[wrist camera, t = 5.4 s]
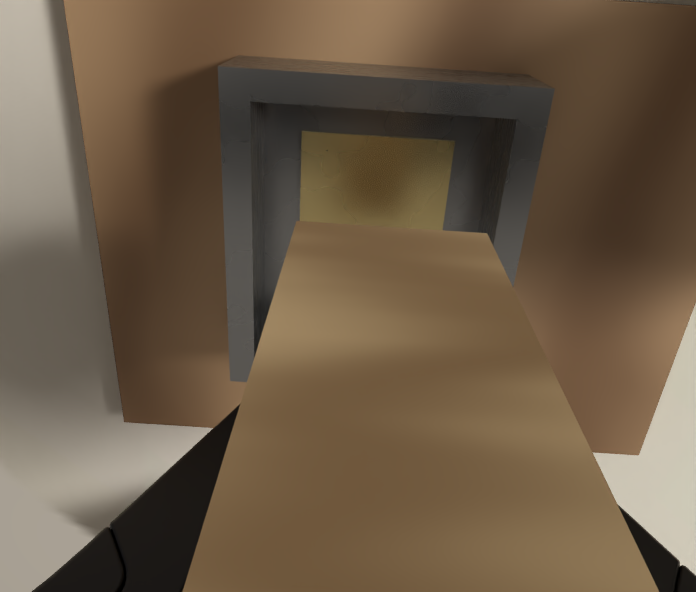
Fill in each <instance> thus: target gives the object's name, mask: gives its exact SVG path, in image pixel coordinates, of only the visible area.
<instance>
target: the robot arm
mask: <svg viewBox="0 0 696 592" xmlns="http://www.w3.org/2000/svg"><path fill="white" fill-rule="evenodd" d="M239 406H240V404H239V405H238V406H237V407H236V408H235V409H234V410H233V411H232V412H231V413H230V414H228V415H227V416H226V417H225V418H224V419H223V420H222V421H221V422H220V423H219V424H218V425H217V426H215V427H214V428H213V429H212V430H211V431H210V432H209V433H208V434H207V435H206V436H205V437H203V438H202V439H201V440H200V441H199V442H198V443H197V444H196V445H195V446H194V447H193V448H192V449H190V450H189V451H188V452H187V453H186V454H185V455H184V456H183V457H182V458H181V459H180V460H179V461H177V462H176V463H175V464H174V465H173V466H172V467H171V468H170V469H169V470H168V471H167V472H166V473H164V474H163V475H162V476H161V477H160V478H159V479H158V480H157V481H156V482H155V483H154V484H153V485H151V486H150V487H149V488H148V489H147V490H146V491H145V492H144V493H143V494H142V495H141V496H140V497H138V498H137V499H136V500H135V501H134V502H133V503H132V504H131V505H130V506H129V507H128V508H127V509H125V510H124V511H123V512H122V513H121V514H120V515H119V516H118V517H117V518H116V519H115V520H113V521H112V522H111V524H110V528H109V527H106V528H104V529H103V530H102V531H101V532H100V533H99V534H98V535H97V536H96V537H95V538H94V539H93V540H92V541H91V542H89V543H88V544H87V545H86V546H85V547H84V548H83V549H82V550H81V551H79V552H78V553H77V554H76V555H75V556H74V557H72V558H71V559H70V560H69V561H68V562H67V563H66V564H64V565H63V566H62V567H61V568H60V569H59V570H58V571H57V572H55V573H54V574H53V575H52V576H51V577H49V578H48V579H47V580H46V581H45V582H43V583H42V584H41V585H39V586H38V587H37V588H36V589H35V590H33V591H32V592H183V589H184V585H185V582H186V579H187V576H188V572H189V569H190V566H191V563H192V559H193V556H194V553H195V550H196V546H197V543H198V540H199V537H200V533H201V530H202V527H203V524H204V520H205V517H206V514H207V511H208V507H209V504H210V501H211V498H212V494H213V491H214V488H215V485H216V481H217V478H218V475H219V471H220V468H221V465H222V462H223V458H224V455H225V452H226V449H227V445H228V442H229V439H230V436H231V432H232V429H233V426H234V423H235V419H236V416H237V413H238V410H239ZM617 505H618V504H617ZM618 507H619V509H620V511H621V513H622V515H623V517H624V519H625V522H626V524H627V526H628V528H629V530H630V532H631V534H632V536H633V538H634V540H635V542H636V544H637V547H638V549H639V551H640V553H641V555H642V557H643V559H644V561H645V563H646V565H647V567H648V569H649V571H650V574H651V576H652V578H653V580H654V582H655V584H656V586H657V588H658V590H659V592H696V575H695V574H693V573H692V572H691V571H690V570H689V569H688V568H687V567H686V566H683V565H682V566H680V562H679V560H678V559H677V558H676V557H675V556H673V555H672V554H671V553H670V552H669V551H668V550H667V549H666V548H665V547H664V546H663V545H661V544H660V543H659V542H658V541H657V540H656V539H655V538H654V537H653V536H652V535H651V534H649V533H648V532H647V531H646V530H645V529H644V528H643V527H642V526H641V525H640V524H639V523H637V522H636V521H635V520H634V519H633V518H632V517H631V516H630V515H629V514H628V513H627V512H625V511H624V510H623V509H622V508H621V507H620V506H619V505H618Z"/></svg>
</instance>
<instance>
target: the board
mask: <svg viewBox="0 0 696 592" xmlns="http://www.w3.org/2000/svg"><path fill="white" fill-rule="evenodd" d="M63 1H64V8H65V15H66V21H67V28H68V35H69V42H70V49H71V56H72V63H73V70H74V77H75V84H76V91H77V98H78V105H79V112H80V118H81V125H82V132H83V139H84V146H85V153H86V160H87V167H88V174H89V181H90V188H91V195H92V202H93V209H94V216H95V222H96V229H97V236H98V243H99V250H100V257H101V264H102V271H103V278H104V285H105V292H106V299H107V306H108V313H109V319H110V326H111V333H112V340H113V347H114V354H115V361H116V368H117V375H118V382H119V389H120V396H121V403H122V410H123V416H124V422H131V423H146V424H162V425H177V426H193V427H208V428H214V427H215V426H217V425H218V424H219V423H220V422H221V421H222V420H223V419H224V418H225V417H226V416H227V415H228V414H230V413H231V412H232V411H233V410H234V409H235V408H236V407H237V406H238V405H239V404H240V403H241V400H242V397H243V393H244V390H245V387H246V384H247V382H236V381H230V369H229V343H228V317H227V292H226V266H225V240H224V215H223V189H222V163H221V138H220V112H219V87H218V66H219V65H221V64H223V63H225V62H227V61H229V60H231V59H232V58H234V57H236V56H238V55H242V56H257V57H272V58H287V59H302V60H317V61H332V62H347V63H362V64H378V65H393V66H408V67H423V68H438V69H453V70H468V71H483V72H498V73H513V74H528V75H530V76H532V77H534V78H536V79H538V80H540V81H541V82H543V83H545V84H547V85H549V86H551V87H553V88H554V89H555V91H554V95H553V100H552V105H551V110H550V114H549V119H548V124H547V129H546V133H545V138H544V143H543V148H542V153H541V157H540V162H539V167H538V172H537V176H536V181H535V186H534V191H533V195H532V200H531V205H530V210H529V215H528V219H527V224H526V229H525V234H524V238H523V243H522V248H521V253H520V257H519V262H518V267H517V272H516V277H515V281H514V286H513V288H514V290H515V293H516V295H517V297H518V299H519V301H520V303H521V305H522V307H523V309H524V311H525V313H526V315H527V318H528V320H529V322H530V324H531V326H532V328H533V330H534V332H535V334H536V336H537V338H538V340H539V342H540V345H541V347H542V349H543V351H544V353H545V355H546V357H547V359H548V361H549V363H550V365H551V367H552V370H553V372H554V374H555V376H556V378H557V380H558V382H559V384H560V386H561V388H562V390H563V392H564V395H565V397H566V399H567V401H568V403H569V405H570V407H571V409H572V411H573V413H574V415H575V417H576V420H577V422H578V424H579V426H580V428H581V430H582V432H583V434H584V436H585V438H586V440H587V442H588V445H589V447H590V449H591V451H592V452H596V453H611V454H627V455H639V453H640V450H641V448H642V445H643V442H644V440H645V437H646V434H647V431H648V429H649V426H650V423H651V421H652V418H653V415H654V413H655V410H656V407H657V405H658V402H659V399H660V397H661V394H662V391H663V389H664V386H665V383H666V380H667V378H668V375H669V372H670V370H671V367H672V364H673V362H674V359H675V356H676V354H677V351H678V348H679V346H680V343H681V340H682V338H683V335H684V332H685V330H686V327H687V324H688V321H689V319H690V316H691V313H692V311H693V308H694V305H695V303H696V6H691V5H676V4H661V3H646V2H631V1H616V0H63Z"/></svg>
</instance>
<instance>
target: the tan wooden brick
mask: <svg viewBox="0 0 696 592" xmlns="http://www.w3.org/2000/svg"><path fill="white" fill-rule="evenodd" d="M183 592H659V590H658V588H657V586H656V584H655V582H654V580H653V578H652V576H651V574H650V571H649V569H648V567H647V565H646V563H645V561H644V559H643V557H642V555H641V553H640V551H639V549H638V547H637V544H636V542H635V540H634V538H633V536H632V534H631V532H630V530H629V528H628V526H627V524H626V522H625V519H624V517H623V515H622V513H621V511H620V509H619V507H618V505H617V503H616V501H615V499H614V497H613V494H612V492H611V490H610V488H609V486H608V484H607V482H606V480H605V478H604V476H603V474H602V472H601V469H600V467H599V465H598V463H597V461H596V459H595V457H594V455H593V453H592V451H591V449H590V447H589V445H588V442H587V440H586V438H585V436H584V434H583V432H582V430H581V428H580V426H579V424H578V422H577V420H576V417H575V415H574V413H573V411H572V409H571V407H570V405H569V403H568V401H567V399H566V397H565V395H564V392H563V390H562V388H561V386H560V384H559V382H558V380H557V378H556V376H555V374H554V372H553V370H552V367H551V365H550V363H549V361H548V359H547V357H546V355H545V353H544V351H543V349H542V347H541V345H540V342H539V340H538V338H537V336H536V334H535V332H534V330H533V328H532V326H531V324H530V322H529V320H528V318H527V315H526V313H525V311H524V309H523V307H522V305H521V303H520V301H519V299H518V297H517V295H516V293H515V290H514V288H513V286H512V284H511V282H510V280H509V278H508V276H507V274H506V272H505V270H504V268H503V265H502V263H501V261H500V259H499V257H498V255H497V253H496V251H495V249H494V247H493V245H492V243H491V240H490V238H489V236H488V234H487V233H475V232H460V231H444V230H429V229H414V228H399V227H384V226H368V225H353V224H338V223H323V222H307V221H296V224H295V227H294V231H293V234H292V237H291V240H290V244H289V247H288V250H287V253H286V257H285V260H284V263H283V266H282V270H281V273H280V276H279V279H278V283H277V286H276V289H275V292H274V296H273V299H272V302H271V305H270V309H269V312H268V315H267V318H266V322H265V325H264V328H263V331H262V335H261V338H260V341H259V344H258V348H257V351H256V354H255V358H254V361H253V364H252V367H251V371H250V374H249V377H248V380H247V384H246V387H245V390H244V393H243V397H242V400H241V403H240V406H239V410H238V413H237V416H236V419H235V423H234V426H233V429H232V432H231V436H230V439H229V442H228V445H227V449H226V452H225V455H224V458H223V462H222V465H221V468H220V471H219V475H218V478H217V481H216V485H215V488H214V491H213V494H212V498H211V501H210V504H209V507H208V511H207V514H206V517H205V520H204V524H203V527H202V530H201V533H200V537H199V540H198V543H197V546H196V550H195V553H194V556H193V559H192V563H191V566H190V569H189V572H188V576H187V579H186V582H185V585H184V589H183Z"/></svg>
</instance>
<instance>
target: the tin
mask: <svg viewBox="0 0 696 592" xmlns="http://www.w3.org/2000/svg"><path fill="white" fill-rule="evenodd" d="M218 87H219V112H220V138H221V163H222V189H223V215H224V240H225V266H226V292H227V317H228V343H229V369H230V381H236V382H247V380H248V377H249V374H250V371H251V367H252V364H253V361H254V358H255V354H256V351H257V348H258V344H259V341H260V338H261V335H262V331H263V328H264V325H265V322H266V318H267V315H268V312H269V309H270V305H271V302H272V299H273V296H274V292H275V289H276V286H277V283H278V279H279V276H280V273H281V270H282V266H283V263H284V260H285V257H286V253H287V250H288V247H289V244H290V240H291V237H292V234H293V231H294V227H295V224H296V221H307V222H323V223H338V224H353V225H368V226H384V227H399V228H414V229H429V230H444V231H460V232H475V233H487V234H488V236H489V238H490V240H491V243H492V245H493V247H494V249H495V251H496V253H497V255H498V257H499V259H500V261H501V263H502V265H503V268H504V270H505V272H506V274H507V276H508V278H509V280H510V282H511V284H512V286H514V281H515V277H516V272H517V267H518V262H519V257H520V253H521V248H522V243H523V238H524V234H525V229H526V224H527V219H528V215H529V210H530V205H531V200H532V195H533V191H534V186H535V181H536V176H537V172H538V167H539V162H540V157H541V153H542V148H543V143H544V138H545V133H546V129H547V124H548V119H549V114H550V110H551V105H552V100H553V95H554V91H555V89H554V88H553V87H551V86H549V85H547V84H545V83H543V82H541V81H540V80H538V79H536V78H534V77H532V76H530V75H528V74H513V73H498V72H483V71H468V70H453V69H438V68H423V67H408V66H393V65H378V64H362V63H347V62H332V61H317V60H302V59H287V58H272V57H257V56H242V55H238V56H236V57H234V58H232V59H231V60H229V61H227V62H225V63H223V64H221V65H219V66H218Z"/></svg>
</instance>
